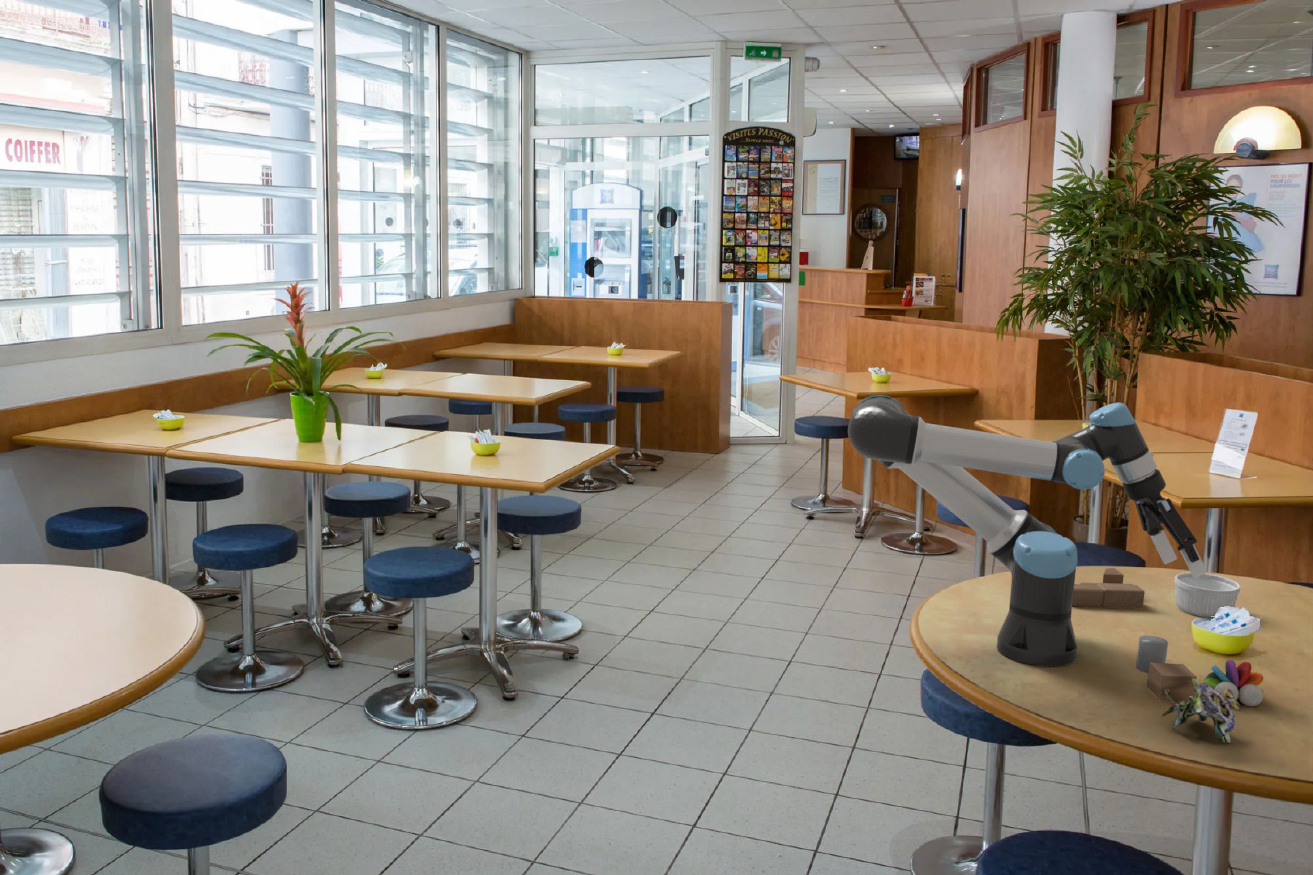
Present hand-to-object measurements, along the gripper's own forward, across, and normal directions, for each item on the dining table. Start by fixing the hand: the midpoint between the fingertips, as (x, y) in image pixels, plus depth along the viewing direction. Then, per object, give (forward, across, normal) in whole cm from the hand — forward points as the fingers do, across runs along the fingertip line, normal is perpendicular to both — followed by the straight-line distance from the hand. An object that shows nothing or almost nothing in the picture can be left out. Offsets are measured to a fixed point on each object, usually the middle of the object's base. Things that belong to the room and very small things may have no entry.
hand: (1185, 568), depth 217 cm
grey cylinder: (+10, -13, +18) cm, 25 cm away
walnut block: (+11, -25, +20) cm, 34 cm away
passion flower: (+11, -41, +23) cm, 48 cm away
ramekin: (+20, +24, -7) cm, 32 cm away
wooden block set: (+9, +32, +12) cm, 36 cm away
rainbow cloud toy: (+16, -25, +10) cm, 31 cm away
